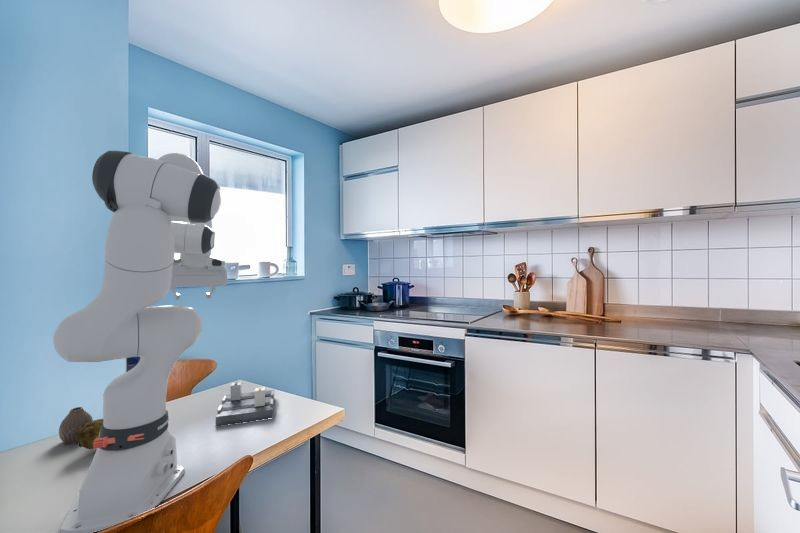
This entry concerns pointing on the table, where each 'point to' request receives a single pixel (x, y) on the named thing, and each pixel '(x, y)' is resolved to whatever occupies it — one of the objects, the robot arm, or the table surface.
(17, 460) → the table surface
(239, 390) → the fader
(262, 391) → the fader
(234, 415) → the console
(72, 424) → the vase
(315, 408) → the table surface
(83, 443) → the potato
